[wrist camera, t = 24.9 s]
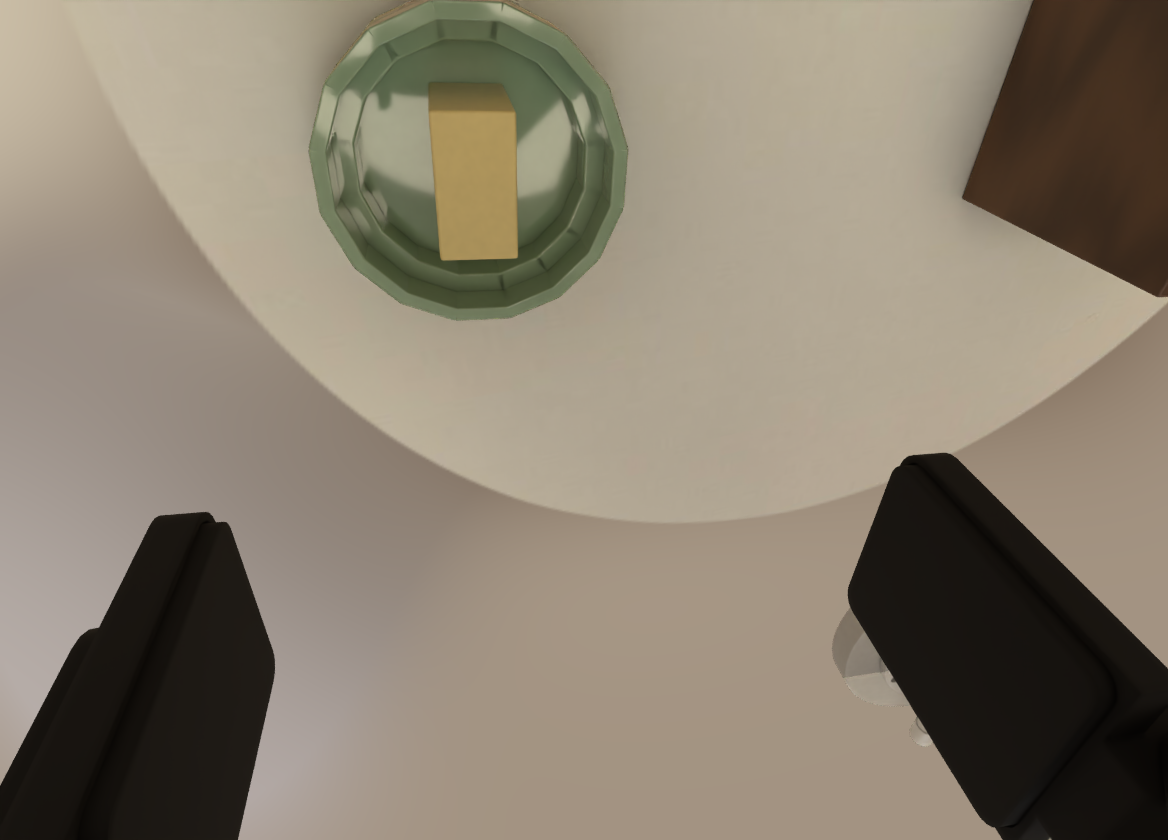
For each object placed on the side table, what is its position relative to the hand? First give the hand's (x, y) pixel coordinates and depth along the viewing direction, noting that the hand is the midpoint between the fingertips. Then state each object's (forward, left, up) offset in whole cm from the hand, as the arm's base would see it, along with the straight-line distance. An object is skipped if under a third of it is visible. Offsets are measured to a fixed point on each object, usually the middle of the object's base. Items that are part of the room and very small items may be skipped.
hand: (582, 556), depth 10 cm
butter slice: (+1, +1, -19) cm, 19 cm away
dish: (+1, +1, -20) cm, 19 cm away
